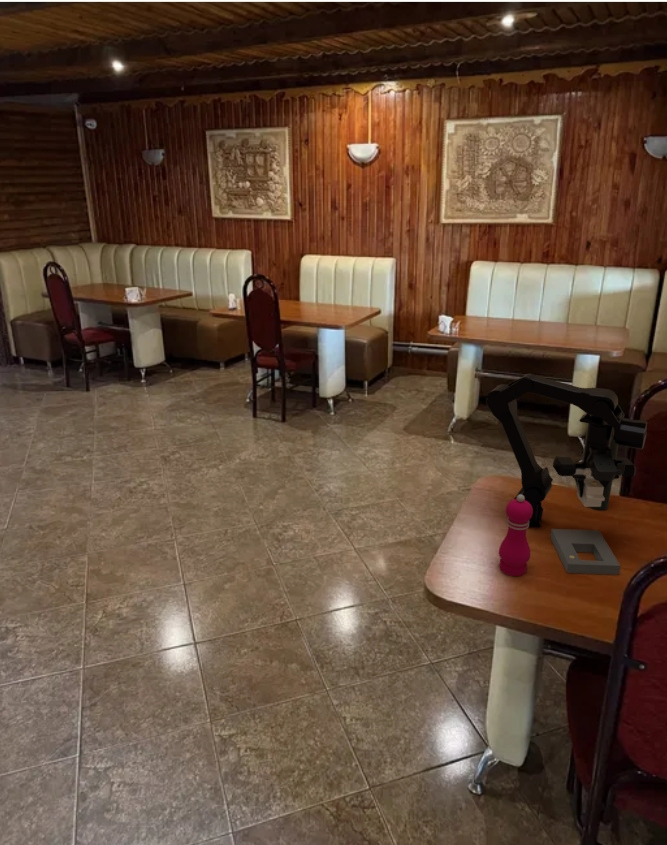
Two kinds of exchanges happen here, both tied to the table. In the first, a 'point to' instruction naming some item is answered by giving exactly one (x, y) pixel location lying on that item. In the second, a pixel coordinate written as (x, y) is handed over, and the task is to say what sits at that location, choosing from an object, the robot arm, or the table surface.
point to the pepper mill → (516, 538)
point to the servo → (592, 493)
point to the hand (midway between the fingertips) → (589, 496)
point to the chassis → (584, 541)
